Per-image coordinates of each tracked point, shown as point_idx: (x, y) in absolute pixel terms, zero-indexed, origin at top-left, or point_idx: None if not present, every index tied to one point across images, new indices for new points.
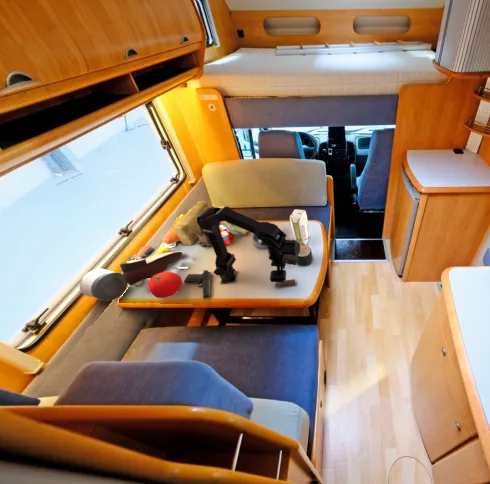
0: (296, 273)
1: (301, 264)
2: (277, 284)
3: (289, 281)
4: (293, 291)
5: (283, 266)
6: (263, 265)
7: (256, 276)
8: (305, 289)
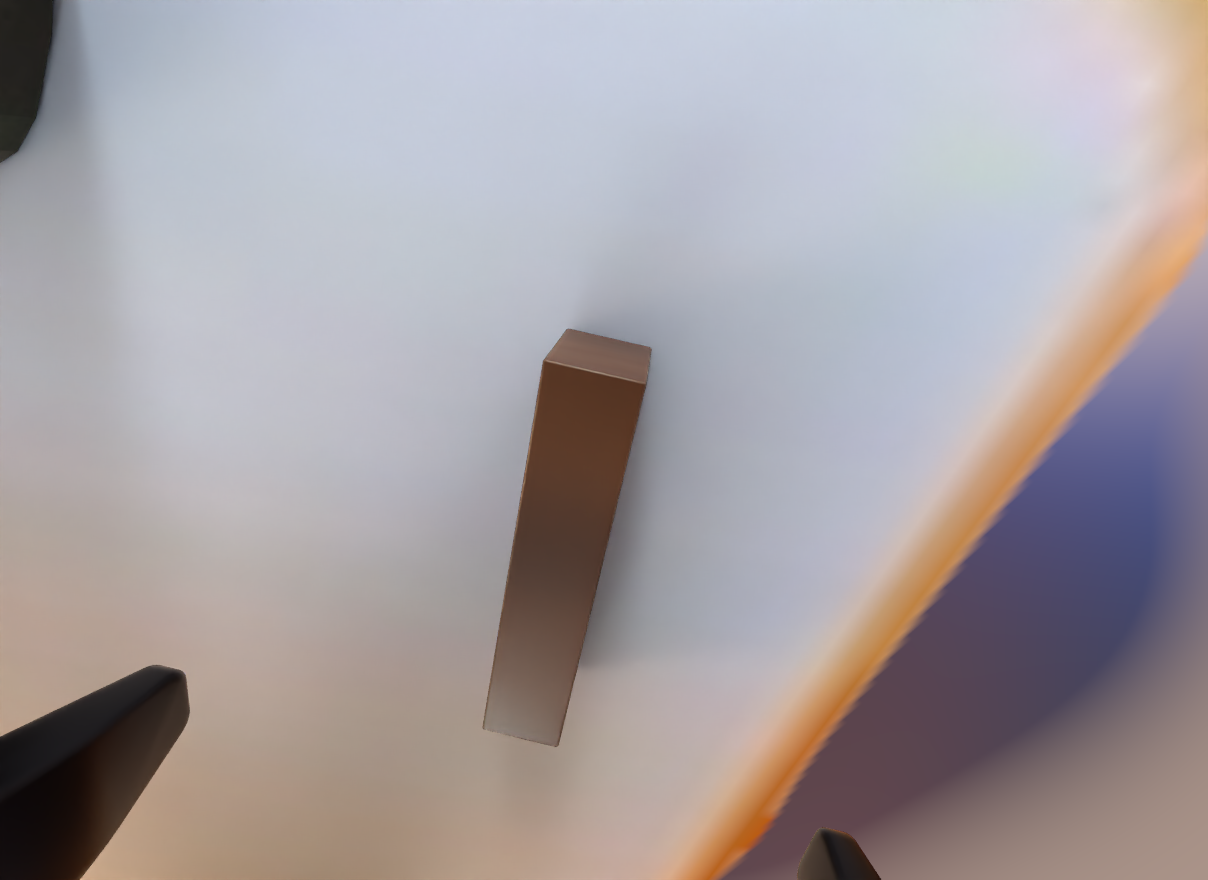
0: (301, 251)
1: (3, 46)
2: (566, 707)
3: (578, 496)
4: (805, 423)
5: (75, 792)
6: None
7: (271, 834)
8: (895, 129)
